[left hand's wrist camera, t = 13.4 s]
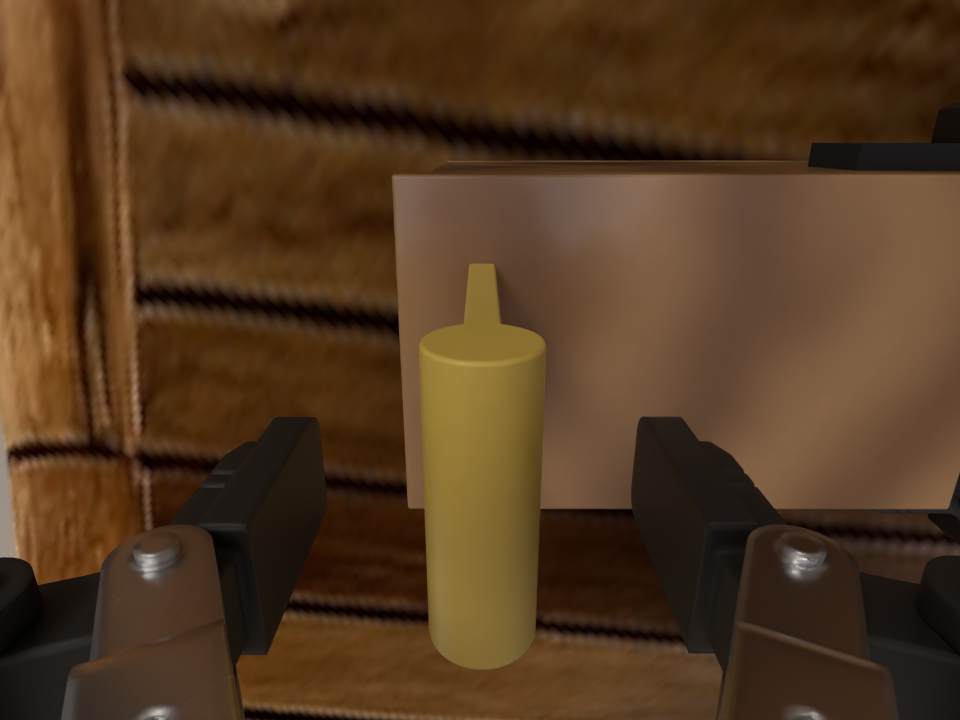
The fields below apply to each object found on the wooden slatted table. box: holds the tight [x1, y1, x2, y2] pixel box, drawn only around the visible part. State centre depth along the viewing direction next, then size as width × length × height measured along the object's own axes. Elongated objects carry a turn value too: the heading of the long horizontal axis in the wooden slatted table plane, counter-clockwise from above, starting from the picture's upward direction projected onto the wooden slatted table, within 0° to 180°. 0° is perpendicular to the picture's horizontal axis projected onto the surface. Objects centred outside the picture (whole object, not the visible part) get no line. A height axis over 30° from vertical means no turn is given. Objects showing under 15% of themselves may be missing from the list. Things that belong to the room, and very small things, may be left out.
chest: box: [431, 161, 960, 173], centre depth 22 cm, size 16×10×9 cm, turn 90°
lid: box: [392, 172, 960, 670], centre depth 14 cm, size 17×10×9 cm, turn 90°
